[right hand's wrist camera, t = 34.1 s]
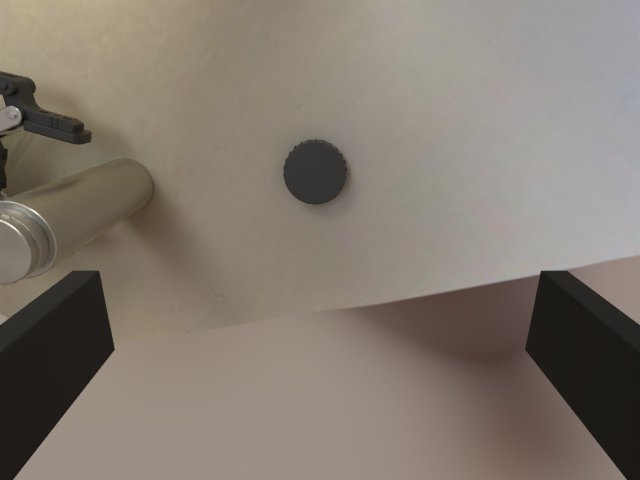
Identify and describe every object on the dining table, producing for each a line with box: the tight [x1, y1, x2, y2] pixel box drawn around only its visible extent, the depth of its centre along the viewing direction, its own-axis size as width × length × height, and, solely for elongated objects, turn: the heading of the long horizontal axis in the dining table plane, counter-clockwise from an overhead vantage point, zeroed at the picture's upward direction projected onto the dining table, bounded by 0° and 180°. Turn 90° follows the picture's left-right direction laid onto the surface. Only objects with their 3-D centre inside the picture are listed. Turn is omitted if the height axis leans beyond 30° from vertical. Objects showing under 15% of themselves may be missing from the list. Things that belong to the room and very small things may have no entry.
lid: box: [283, 139, 347, 204], centre depth 36 cm, size 5×6×2 cm
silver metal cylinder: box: [0, 159, 153, 285], centre depth 30 cm, size 5×5×16 cm
